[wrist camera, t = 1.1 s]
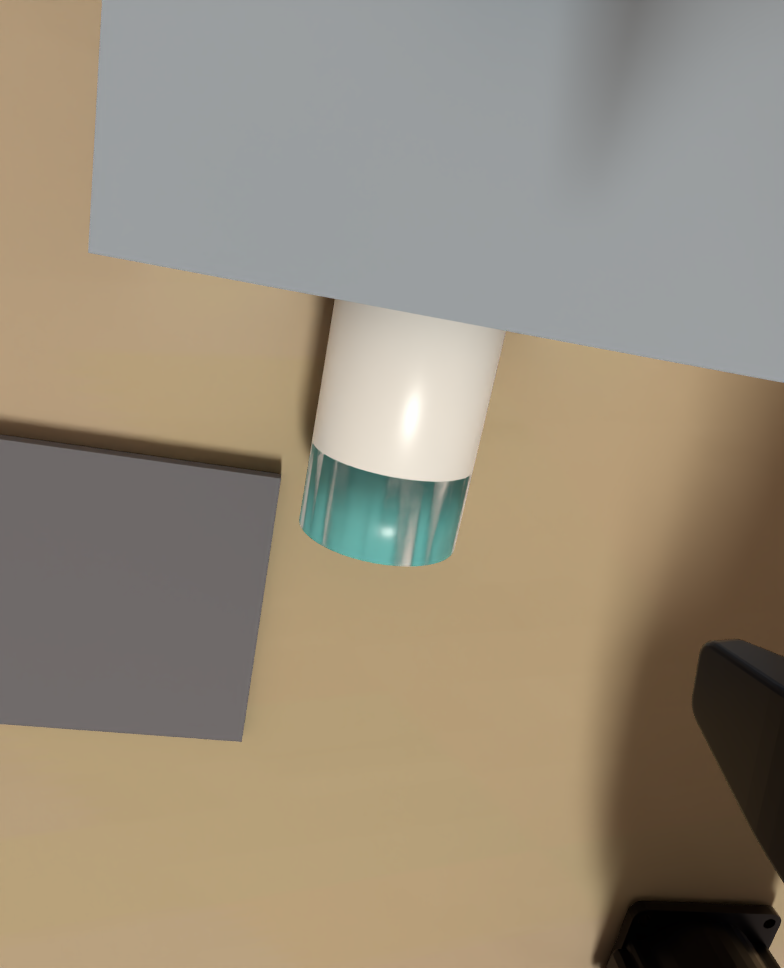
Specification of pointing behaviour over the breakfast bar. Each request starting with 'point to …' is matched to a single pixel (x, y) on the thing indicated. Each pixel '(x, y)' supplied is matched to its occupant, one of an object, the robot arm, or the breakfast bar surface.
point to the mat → (129, 589)
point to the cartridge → (396, 433)
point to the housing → (462, 161)
